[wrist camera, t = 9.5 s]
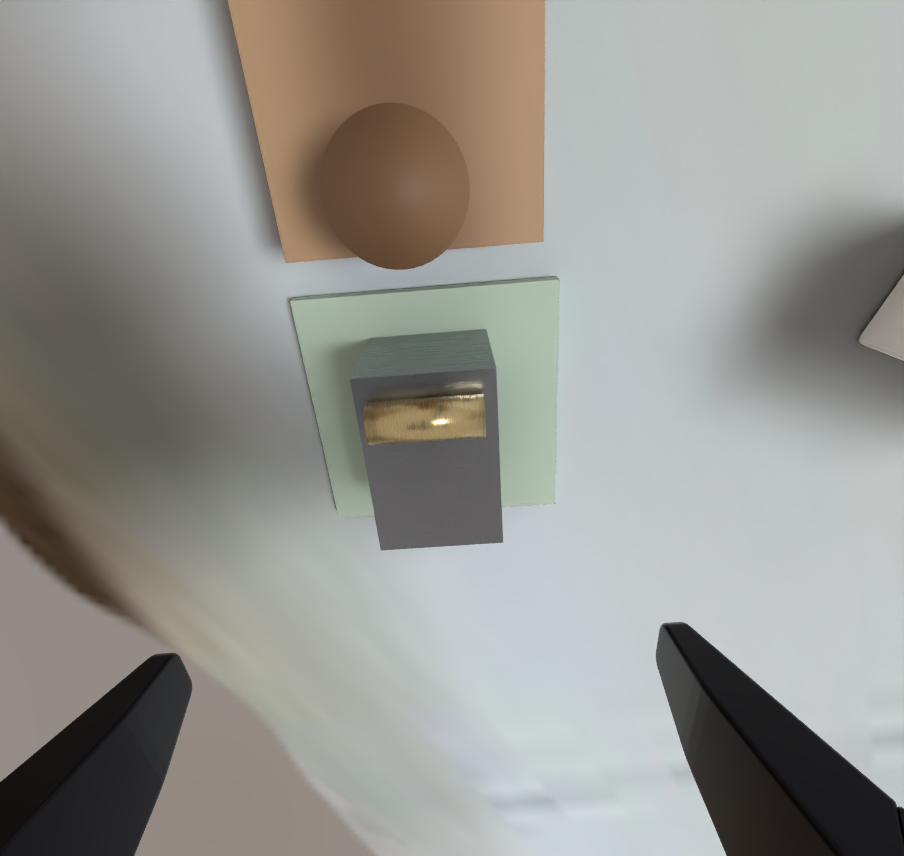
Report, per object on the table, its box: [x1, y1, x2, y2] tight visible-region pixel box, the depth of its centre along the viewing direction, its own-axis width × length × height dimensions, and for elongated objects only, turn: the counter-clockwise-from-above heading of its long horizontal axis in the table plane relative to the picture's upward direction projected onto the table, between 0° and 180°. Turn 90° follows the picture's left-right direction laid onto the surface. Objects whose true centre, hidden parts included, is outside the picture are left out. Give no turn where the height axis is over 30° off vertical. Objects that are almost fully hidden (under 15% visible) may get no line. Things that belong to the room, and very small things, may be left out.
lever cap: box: [350, 329, 503, 550], centre depth 16 cm, size 4×6×5 cm, turn 4°
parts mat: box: [290, 276, 560, 518], centre depth 18 cm, size 9×9×1 cm
